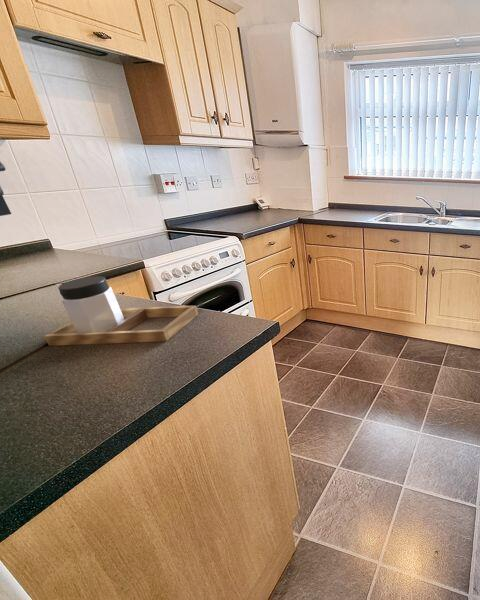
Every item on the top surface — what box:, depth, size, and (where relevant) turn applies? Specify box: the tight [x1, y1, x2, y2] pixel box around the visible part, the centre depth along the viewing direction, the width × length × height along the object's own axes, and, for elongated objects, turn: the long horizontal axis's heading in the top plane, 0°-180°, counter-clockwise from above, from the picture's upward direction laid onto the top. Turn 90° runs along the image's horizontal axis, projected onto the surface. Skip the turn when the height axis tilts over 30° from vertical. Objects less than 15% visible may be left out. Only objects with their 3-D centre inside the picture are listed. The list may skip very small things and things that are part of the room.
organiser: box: [43, 305, 199, 347], centre depth 80 cm, size 26×14×2 cm, turn 91°
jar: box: [58, 275, 124, 333], centre depth 78 cm, size 9×8×12 cm
